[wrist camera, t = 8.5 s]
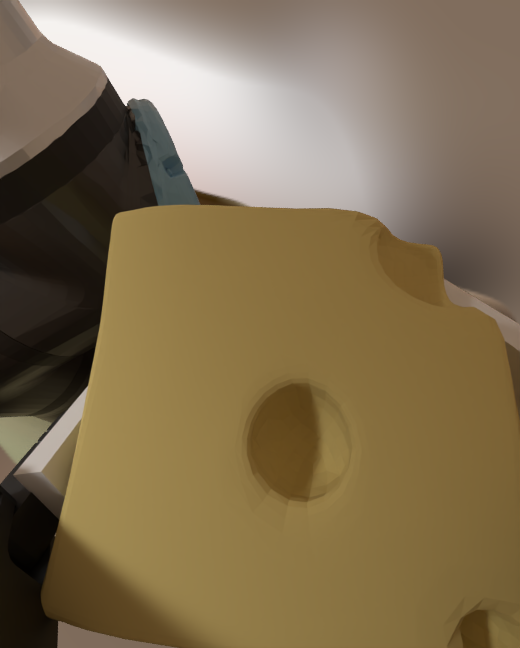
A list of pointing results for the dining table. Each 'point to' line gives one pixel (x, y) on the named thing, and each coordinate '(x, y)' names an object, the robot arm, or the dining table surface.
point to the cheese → (289, 443)
